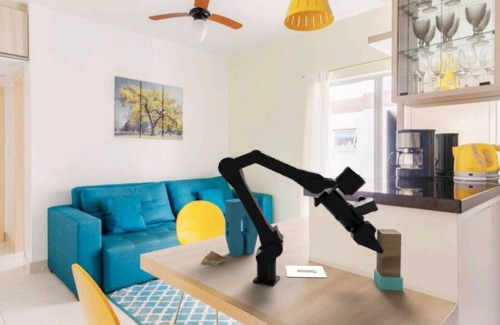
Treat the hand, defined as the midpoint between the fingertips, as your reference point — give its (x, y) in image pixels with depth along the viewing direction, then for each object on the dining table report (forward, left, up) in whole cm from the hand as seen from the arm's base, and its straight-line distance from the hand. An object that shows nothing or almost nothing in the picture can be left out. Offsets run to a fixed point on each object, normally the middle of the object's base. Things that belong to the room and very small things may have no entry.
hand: (377, 247), depth 90 cm
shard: (0, +54, -12) cm, 55 cm away
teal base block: (+1, -3, -11) cm, 11 cm away
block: (+11, +47, -11) cm, 50 cm away
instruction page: (+2, +21, -11) cm, 24 cm away
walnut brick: (+1, -3, -7) cm, 8 cm away
